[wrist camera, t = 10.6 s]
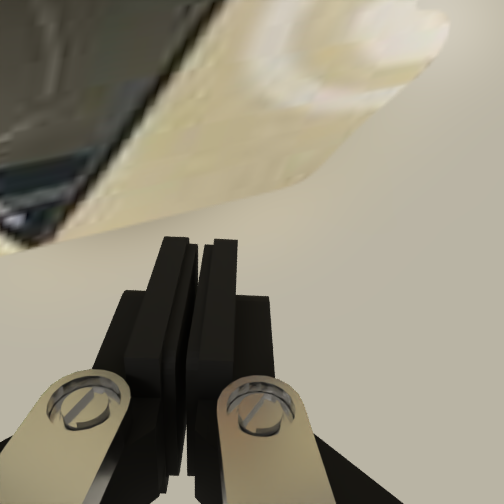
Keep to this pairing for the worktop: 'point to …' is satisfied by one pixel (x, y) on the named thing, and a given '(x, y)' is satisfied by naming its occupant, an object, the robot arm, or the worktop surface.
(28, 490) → the robot arm
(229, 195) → the worktop surface
